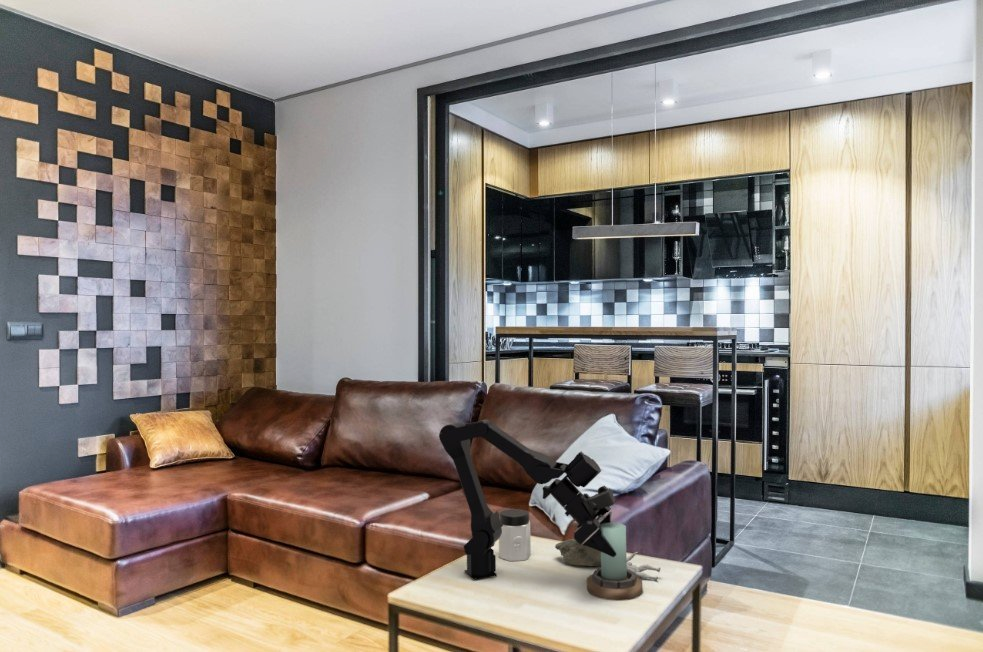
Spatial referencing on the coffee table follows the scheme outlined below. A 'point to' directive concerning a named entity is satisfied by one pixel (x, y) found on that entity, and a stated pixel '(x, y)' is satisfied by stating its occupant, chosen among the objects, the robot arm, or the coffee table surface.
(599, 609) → the coffee table surface
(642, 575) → the soldier figure
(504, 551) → the jar
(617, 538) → the column
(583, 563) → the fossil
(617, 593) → the segmented ring tray
